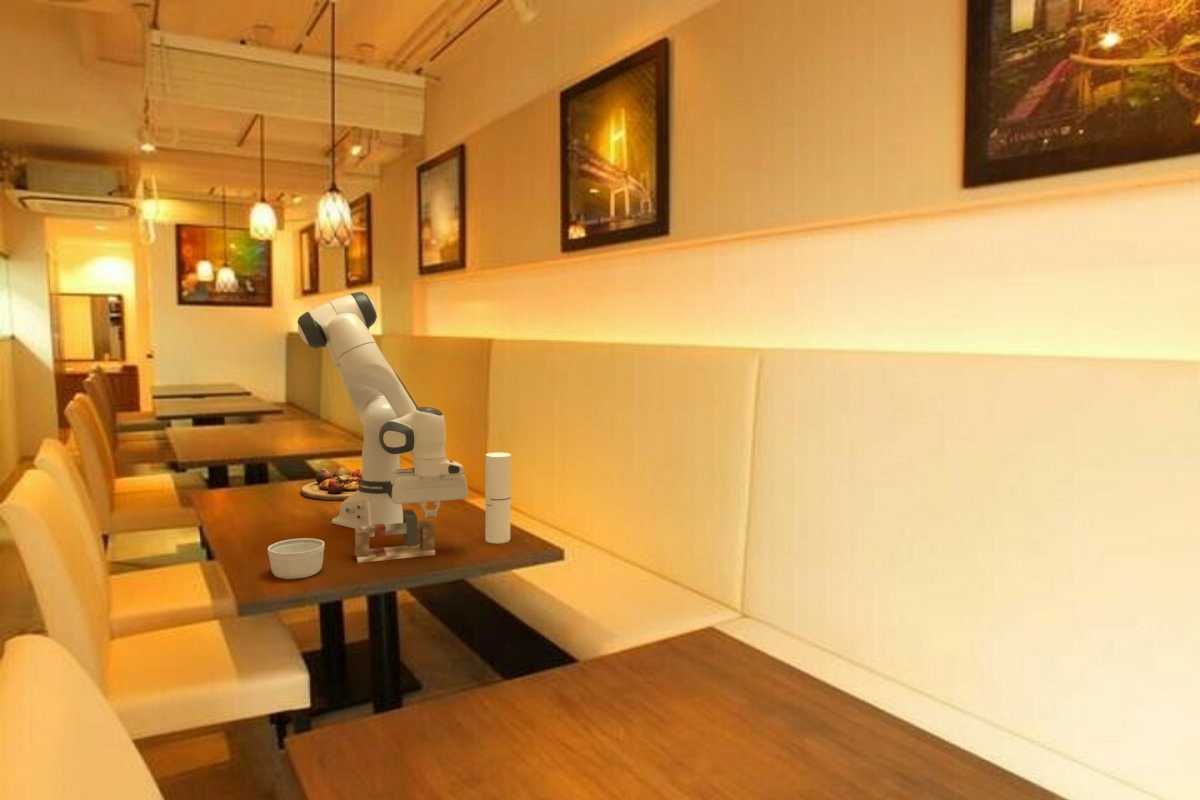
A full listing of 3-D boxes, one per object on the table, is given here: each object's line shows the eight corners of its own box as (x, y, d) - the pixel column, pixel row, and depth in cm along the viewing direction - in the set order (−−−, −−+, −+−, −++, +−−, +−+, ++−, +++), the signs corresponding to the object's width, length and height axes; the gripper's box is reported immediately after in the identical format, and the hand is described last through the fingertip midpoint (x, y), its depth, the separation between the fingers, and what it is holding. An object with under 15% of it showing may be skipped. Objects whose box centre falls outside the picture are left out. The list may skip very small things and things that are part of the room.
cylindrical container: (505, 544, 217) (506, 457, 214) (481, 542, 218) (482, 456, 216) (513, 537, 224) (514, 453, 221) (490, 535, 225) (490, 451, 223)
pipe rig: (357, 562, 198) (357, 531, 197) (354, 554, 205) (354, 523, 205) (435, 554, 206) (435, 524, 205) (429, 546, 213) (429, 517, 212)
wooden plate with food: (360, 505, 260) (360, 481, 259) (281, 496, 268) (281, 473, 268) (409, 488, 290) (409, 466, 290) (336, 481, 299) (336, 460, 298)
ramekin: (256, 577, 186) (255, 549, 186) (295, 561, 199) (294, 535, 198) (299, 584, 182) (298, 556, 181) (336, 568, 194) (336, 541, 193)
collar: (407, 546, 203) (407, 517, 202) (403, 538, 210) (402, 510, 209) (417, 545, 204) (417, 516, 203) (412, 537, 211) (412, 509, 210)
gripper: (391, 471, 200) (392, 523, 202) (469, 466, 208) (469, 516, 209) (388, 467, 206) (389, 517, 207) (464, 462, 214) (464, 511, 215)
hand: (430, 517), depth 208 cm, fingers closed
